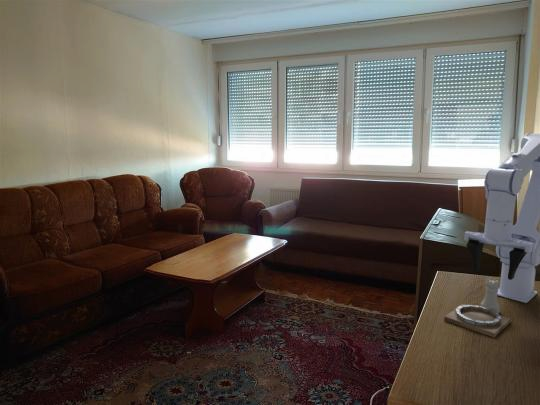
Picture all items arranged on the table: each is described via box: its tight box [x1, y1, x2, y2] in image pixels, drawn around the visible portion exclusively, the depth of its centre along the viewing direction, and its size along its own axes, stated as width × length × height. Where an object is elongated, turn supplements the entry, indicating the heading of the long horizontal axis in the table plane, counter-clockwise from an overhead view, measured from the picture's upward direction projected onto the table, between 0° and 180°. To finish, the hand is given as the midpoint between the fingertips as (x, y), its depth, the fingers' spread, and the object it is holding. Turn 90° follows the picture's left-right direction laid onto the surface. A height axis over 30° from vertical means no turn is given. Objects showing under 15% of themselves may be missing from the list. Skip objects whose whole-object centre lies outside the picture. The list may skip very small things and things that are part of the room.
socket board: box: [443, 303, 512, 338], centre depth 98 cm, size 10×11×2 cm
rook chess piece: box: [480, 277, 501, 314], centre depth 103 cm, size 4×4×8 cm
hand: (493, 274), depth 102 cm, fingers open, 7 cm apart
